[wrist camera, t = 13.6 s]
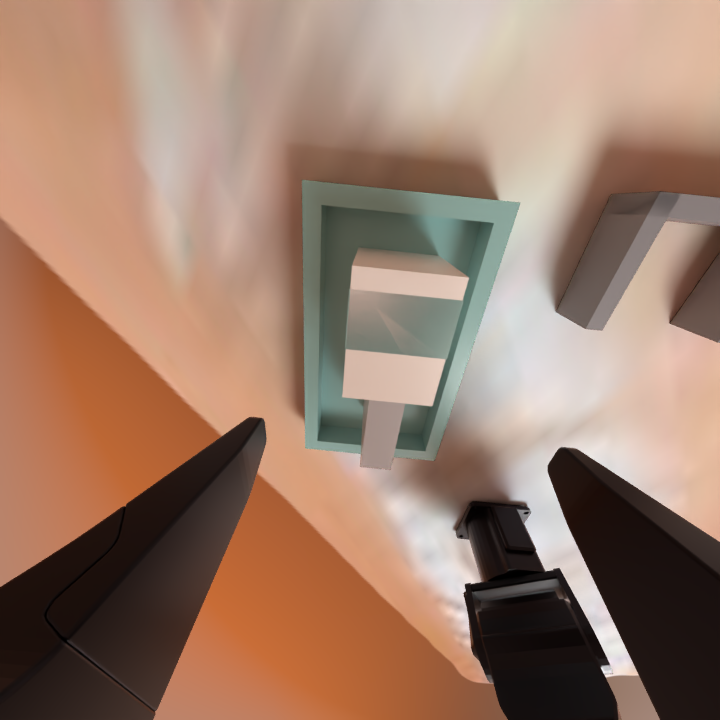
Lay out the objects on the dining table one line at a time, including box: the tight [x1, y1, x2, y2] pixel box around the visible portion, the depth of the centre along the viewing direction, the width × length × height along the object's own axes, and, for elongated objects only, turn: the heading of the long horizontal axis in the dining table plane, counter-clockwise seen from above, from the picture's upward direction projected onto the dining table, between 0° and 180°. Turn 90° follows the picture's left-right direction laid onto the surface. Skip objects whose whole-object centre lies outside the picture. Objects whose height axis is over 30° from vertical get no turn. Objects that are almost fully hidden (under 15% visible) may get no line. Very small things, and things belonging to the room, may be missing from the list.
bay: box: [556, 191, 720, 343], centre depth 16 cm, size 7×9×3 cm
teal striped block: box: [342, 247, 469, 470], centre depth 17 cm, size 12×5×6 cm, turn 175°
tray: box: [302, 180, 520, 461], centre depth 19 cm, size 19×11×2 cm, turn 175°
